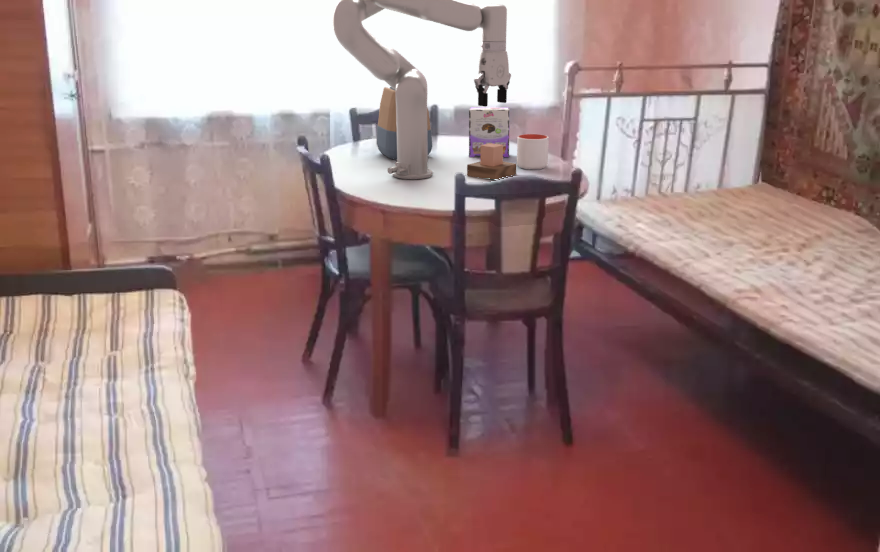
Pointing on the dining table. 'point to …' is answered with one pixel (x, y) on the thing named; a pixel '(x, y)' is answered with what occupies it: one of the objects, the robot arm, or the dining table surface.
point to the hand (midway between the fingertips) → (492, 104)
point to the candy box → (488, 128)
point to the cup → (532, 151)
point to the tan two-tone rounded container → (392, 125)
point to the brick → (491, 154)
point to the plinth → (491, 170)
